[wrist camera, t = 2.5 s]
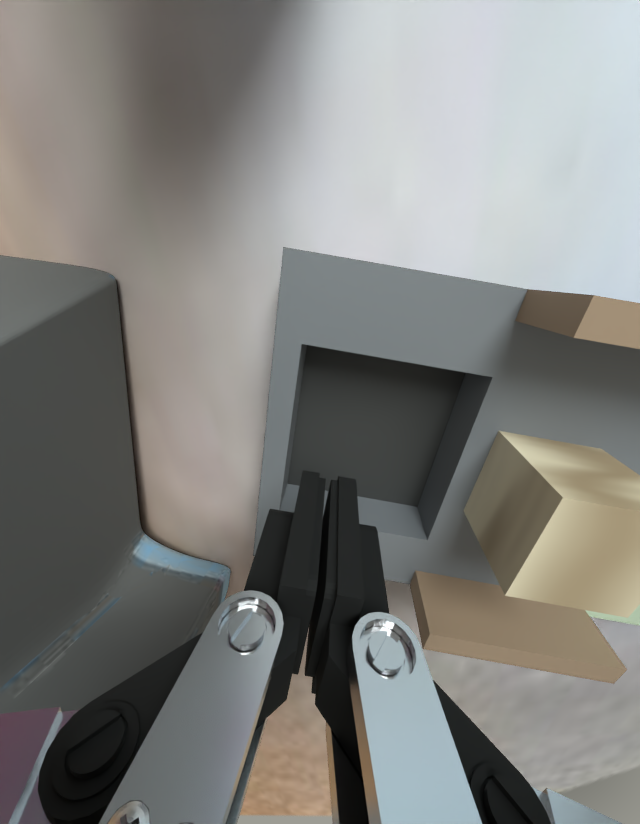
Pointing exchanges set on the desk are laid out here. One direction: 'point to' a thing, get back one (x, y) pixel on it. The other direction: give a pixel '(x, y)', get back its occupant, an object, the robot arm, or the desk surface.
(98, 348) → the touchscreen device
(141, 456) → the desk surface
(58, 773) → the robot arm
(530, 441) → the birch block
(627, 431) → the board
